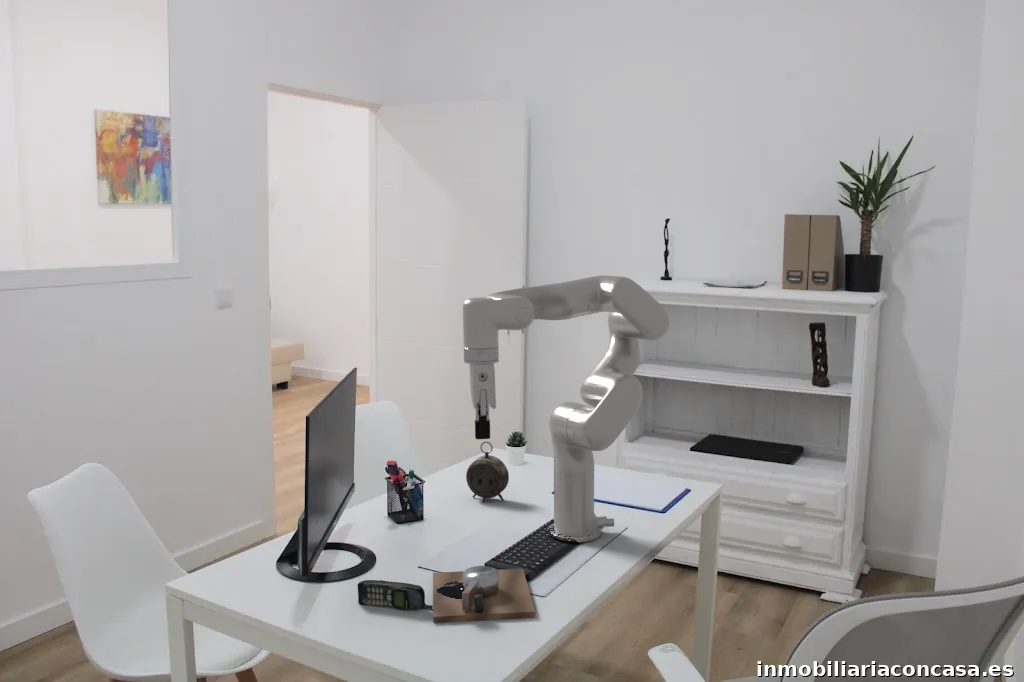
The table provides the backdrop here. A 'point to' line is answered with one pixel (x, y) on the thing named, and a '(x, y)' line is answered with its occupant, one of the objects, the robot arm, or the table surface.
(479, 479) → the alarm clock
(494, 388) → the robot arm
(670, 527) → the table surface
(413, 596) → the mobile phone
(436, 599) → the plinth
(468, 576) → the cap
